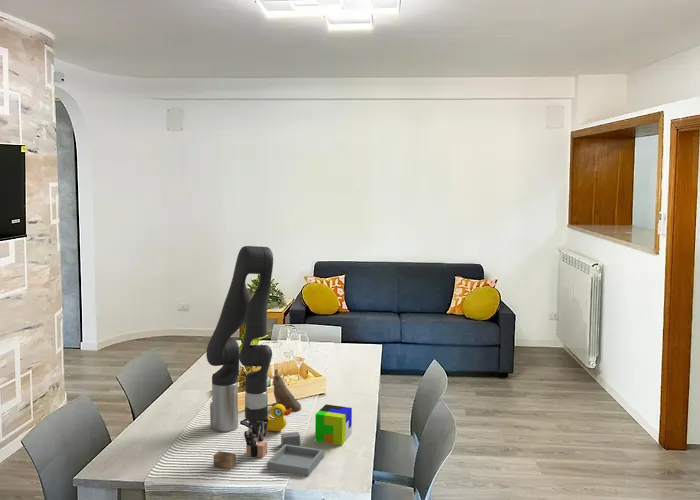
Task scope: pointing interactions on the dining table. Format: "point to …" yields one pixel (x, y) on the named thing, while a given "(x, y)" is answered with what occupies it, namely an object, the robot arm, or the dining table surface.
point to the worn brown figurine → (284, 395)
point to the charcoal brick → (290, 439)
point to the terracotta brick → (258, 449)
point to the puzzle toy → (333, 424)
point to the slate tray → (295, 460)
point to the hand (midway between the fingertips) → (256, 453)
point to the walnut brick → (224, 460)
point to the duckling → (277, 417)
